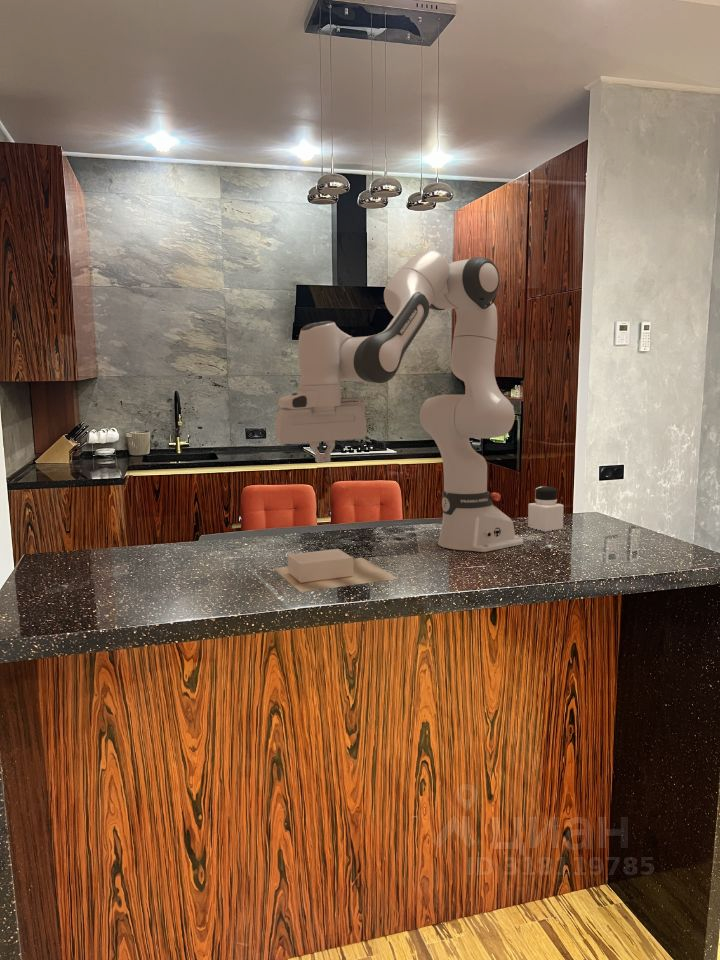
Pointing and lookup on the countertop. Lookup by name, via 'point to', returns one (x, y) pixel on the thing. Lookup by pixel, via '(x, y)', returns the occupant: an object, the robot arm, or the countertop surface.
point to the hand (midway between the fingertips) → (323, 461)
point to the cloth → (361, 571)
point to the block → (320, 565)
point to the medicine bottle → (545, 510)
